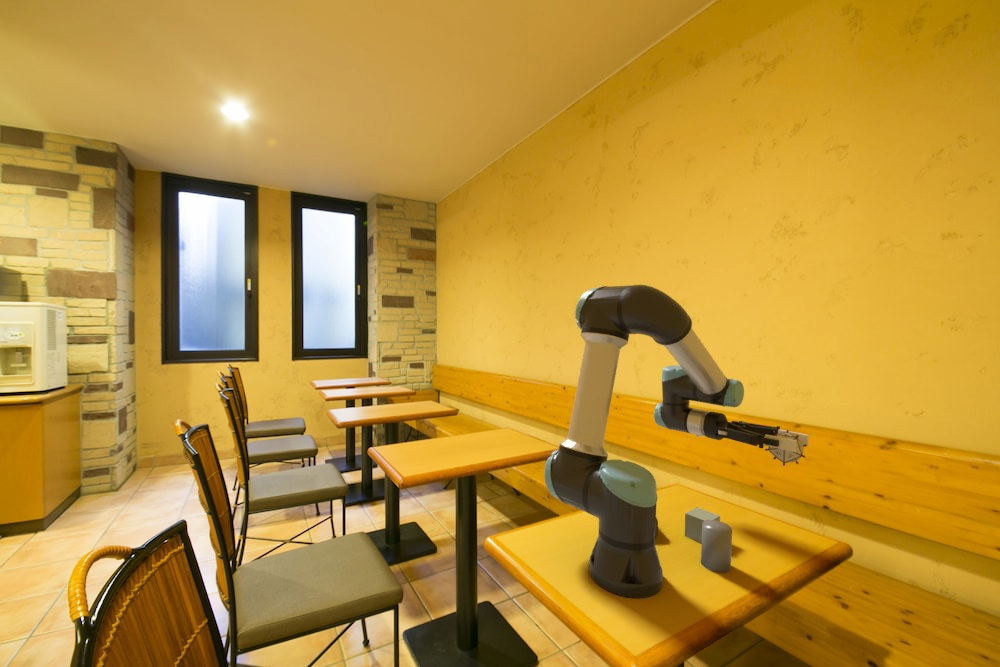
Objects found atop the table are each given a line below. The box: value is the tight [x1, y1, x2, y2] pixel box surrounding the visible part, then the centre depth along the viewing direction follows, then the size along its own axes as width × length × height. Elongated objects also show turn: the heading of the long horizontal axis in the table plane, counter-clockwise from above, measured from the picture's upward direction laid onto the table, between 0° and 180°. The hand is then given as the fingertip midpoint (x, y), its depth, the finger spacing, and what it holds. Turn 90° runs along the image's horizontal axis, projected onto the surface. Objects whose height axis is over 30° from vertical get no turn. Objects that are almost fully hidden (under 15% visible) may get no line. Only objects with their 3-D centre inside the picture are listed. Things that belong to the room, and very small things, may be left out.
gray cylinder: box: [700, 520, 733, 574], centre depth 96 cm, size 6×6×9 cm
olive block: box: [684, 507, 721, 544], centre depth 108 cm, size 6×6×6 cm
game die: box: [764, 429, 808, 467], centre depth 106 cm, size 9×8×10 cm
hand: (802, 443), depth 103 cm, fingers closed on game die, 8 cm apart
